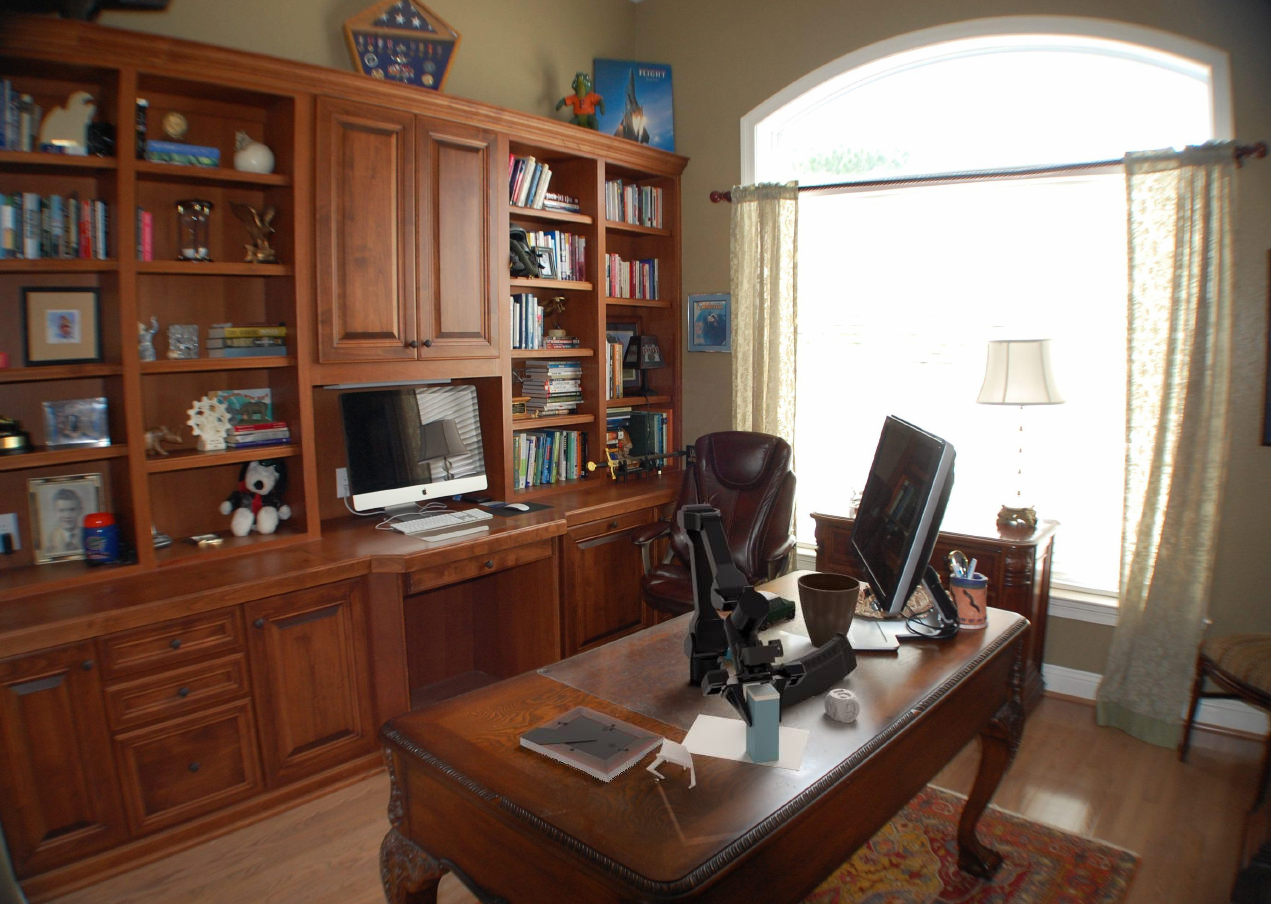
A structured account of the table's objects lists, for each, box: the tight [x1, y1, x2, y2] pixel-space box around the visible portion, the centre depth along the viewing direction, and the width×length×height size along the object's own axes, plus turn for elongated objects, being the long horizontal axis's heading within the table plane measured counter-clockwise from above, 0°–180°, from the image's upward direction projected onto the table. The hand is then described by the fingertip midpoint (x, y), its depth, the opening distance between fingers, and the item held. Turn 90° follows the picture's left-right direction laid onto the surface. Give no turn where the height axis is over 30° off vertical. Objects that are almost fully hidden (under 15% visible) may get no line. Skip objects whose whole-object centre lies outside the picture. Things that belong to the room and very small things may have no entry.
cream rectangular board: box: [680, 713, 811, 771], centre depth 151 cm, size 22×15×1 cm
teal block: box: [745, 683, 780, 764], centre depth 144 cm, size 4×4×12 cm
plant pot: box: [797, 572, 861, 649], centre depth 197 cm, size 15×15×16 cm
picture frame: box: [519, 704, 666, 783], centre depth 151 cm, size 16×2×22 cm
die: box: [823, 688, 861, 724], centre depth 160 cm, size 5×5×5 cm
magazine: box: [759, 632, 858, 712], centre depth 169 cm, size 17×3×30 cm
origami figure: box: [645, 738, 697, 790], centre depth 139 cm, size 12×8×5 cm
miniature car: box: [756, 590, 797, 633], centre depth 214 cm, size 9×18×8 cm, turn 133°
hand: (765, 724), depth 143 cm, fingers open, 5 cm apart
